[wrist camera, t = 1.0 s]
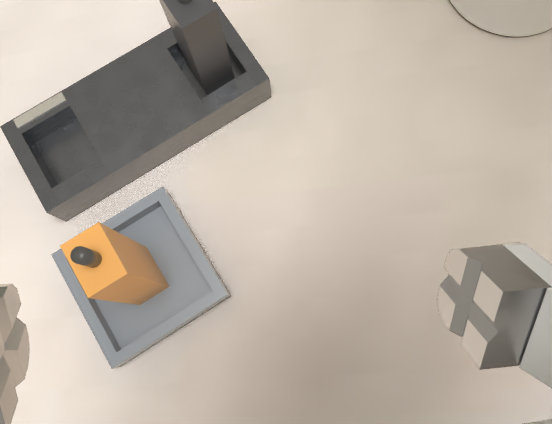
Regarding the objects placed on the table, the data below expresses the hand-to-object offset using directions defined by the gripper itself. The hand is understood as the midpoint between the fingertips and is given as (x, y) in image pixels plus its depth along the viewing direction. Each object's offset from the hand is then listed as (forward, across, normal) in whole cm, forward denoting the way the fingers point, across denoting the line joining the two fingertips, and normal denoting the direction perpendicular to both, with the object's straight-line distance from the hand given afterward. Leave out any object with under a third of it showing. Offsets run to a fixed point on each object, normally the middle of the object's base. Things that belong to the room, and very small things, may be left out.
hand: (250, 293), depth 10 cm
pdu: (+44, +3, +10) cm, 45 cm away
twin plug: (+44, -3, +5) cm, 45 cm away
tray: (+34, +4, +22) cm, 41 cm away
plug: (+33, +4, +22) cm, 40 cm away
